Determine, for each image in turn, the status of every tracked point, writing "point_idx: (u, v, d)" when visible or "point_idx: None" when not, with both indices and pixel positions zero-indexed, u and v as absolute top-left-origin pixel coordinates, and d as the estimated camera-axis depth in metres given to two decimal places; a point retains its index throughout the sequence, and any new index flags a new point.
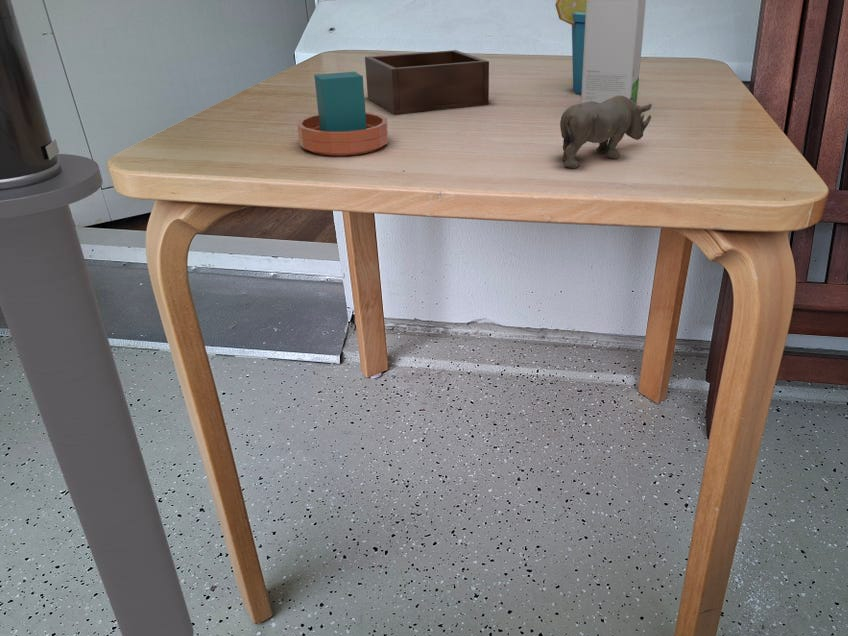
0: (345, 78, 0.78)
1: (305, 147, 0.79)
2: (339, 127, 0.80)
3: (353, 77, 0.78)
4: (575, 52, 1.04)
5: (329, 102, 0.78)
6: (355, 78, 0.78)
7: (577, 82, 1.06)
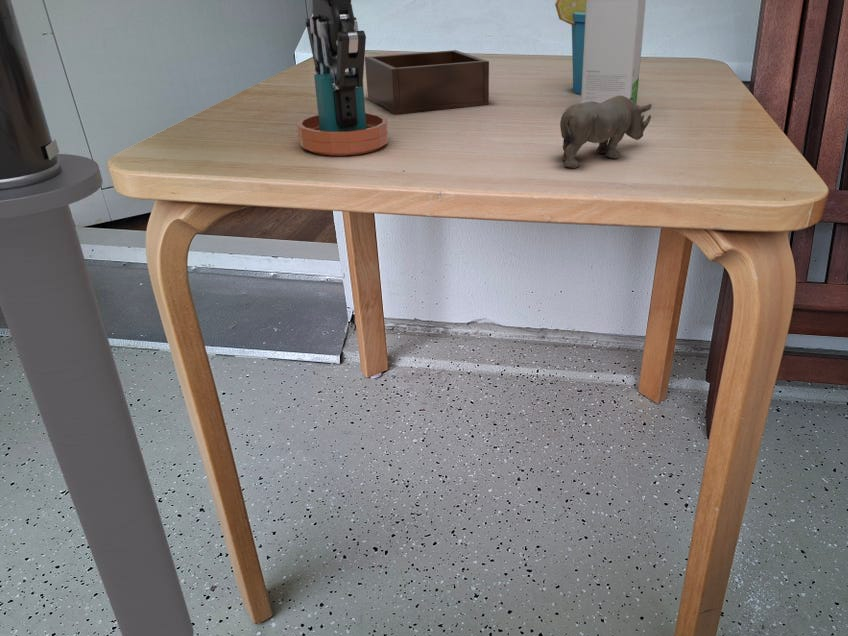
0: None
1: (305, 147, 0.79)
2: (339, 127, 0.80)
3: None
4: (575, 52, 1.04)
5: (329, 102, 0.78)
6: None
7: (577, 82, 1.06)
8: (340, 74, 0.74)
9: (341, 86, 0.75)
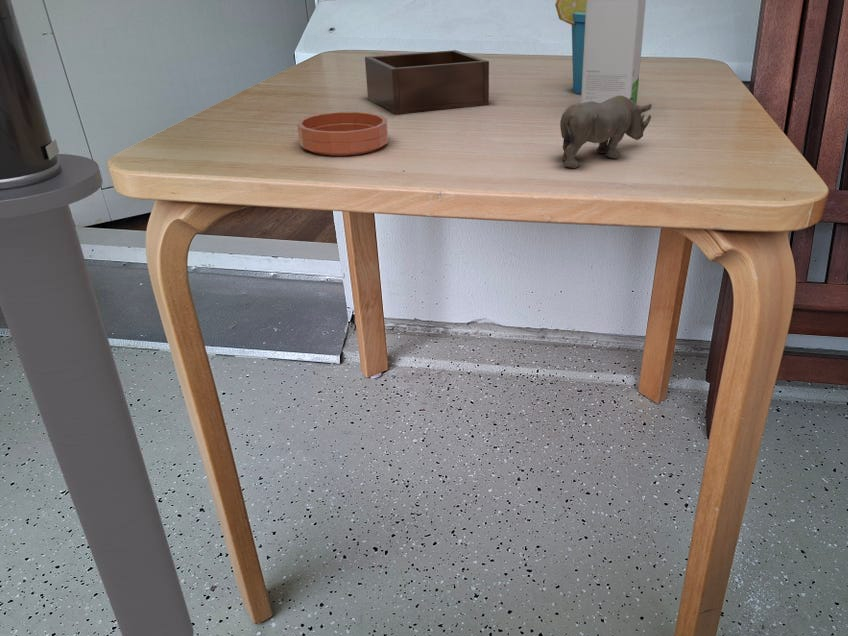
0: None
1: (305, 147, 0.79)
2: None
3: None
4: (575, 52, 1.04)
5: None
6: None
7: (577, 82, 1.06)
8: None
9: None
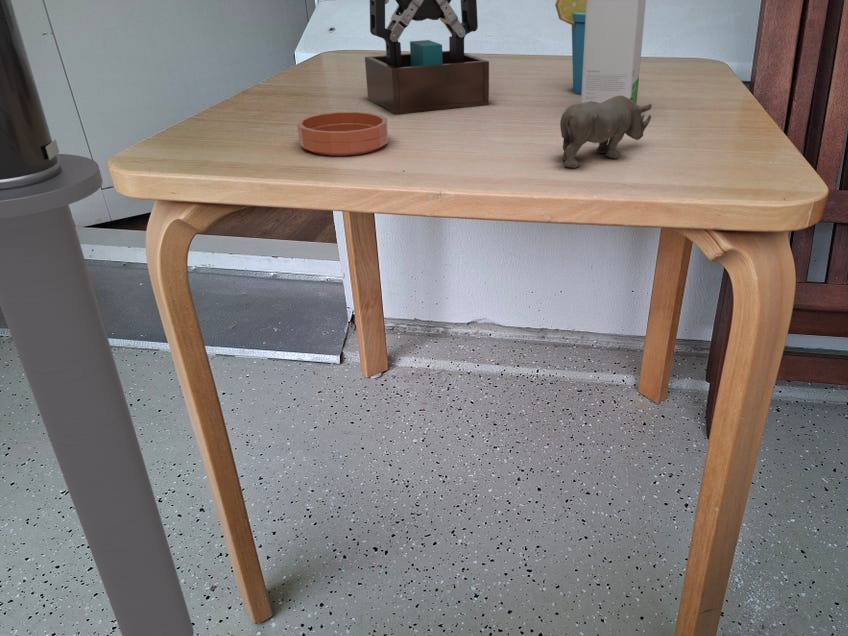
0: (417, 44, 0.97)
1: (305, 147, 0.79)
2: None
3: (419, 45, 0.97)
4: (575, 52, 1.04)
5: (412, 60, 1.00)
6: (420, 47, 0.97)
7: (577, 82, 1.06)
8: (370, 19, 0.95)
9: (371, 33, 0.96)
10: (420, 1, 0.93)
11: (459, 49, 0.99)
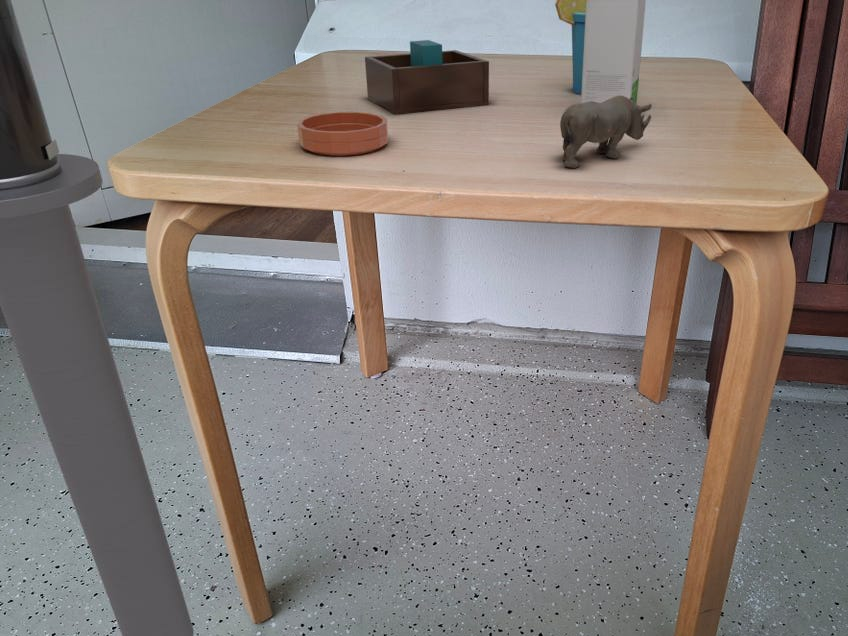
0: (417, 44, 0.97)
1: (305, 147, 0.79)
2: None
3: (419, 45, 0.97)
4: (575, 52, 1.04)
5: (412, 60, 1.00)
6: (420, 47, 0.97)
7: (577, 82, 1.06)
8: None
9: None
10: None
11: None
